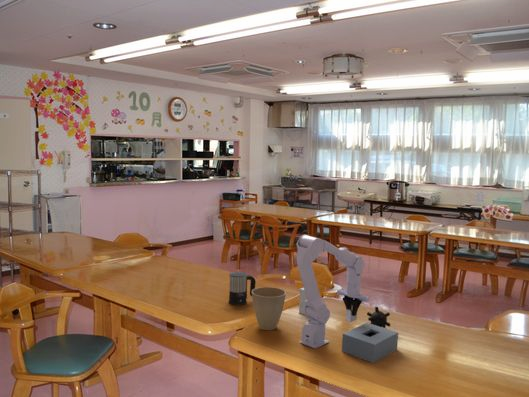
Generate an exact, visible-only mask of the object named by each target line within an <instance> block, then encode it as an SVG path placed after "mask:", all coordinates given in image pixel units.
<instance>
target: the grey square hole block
mask: <svg viewBox="0 0 529 397" xmlns="http://www.w3.org/2000/svg"><path fill="white" fill-rule="evenodd" d="M370 323H371V322H370ZM370 323H369V322H365V323H363V324H361V325H359V326H357V327H355V328H352V329H350V330H348V331H345V332H343V333H342V340H341V343H342V344H341V352H343V353H345V354H347V355H351V356H353V357H356V358H359V359H362V360H364V361H366V362H370V363H372V364H374V363H376V362H379V361H380V360H381V359H383V358H386V357H387V356H388V355H390V354H392V353H394V352H396V351H397V350H398V344H399V343H398V340H399V332H397V331H395V330H391V329H388V328H386V327H385V328H383V327H379V326H376V325H373V324H370Z"/></svg>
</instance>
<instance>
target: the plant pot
mask: <svg viewBox="0 0 529 397" xmlns="http://www.w3.org/2000/svg"><path fill="white" fill-rule="evenodd" d="M286 294H287V292H286V290H285V289H283V288H280V287H274V286H263V287H255V289H253V290H252V296H251V299H252V304H253V310H254V313H255V314H254V315H255V317H256V318H255V319H256V322H257V324H258V327H259V329H261V330H263V331H274V330H275V329H276V328H277V327H278V325H279V322H280V320H281V319H280V318H281V317H282V313H283V310H284V305H285V300H286Z"/></svg>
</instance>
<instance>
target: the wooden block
mask: <svg viewBox="0 0 529 397" xmlns="http://www.w3.org/2000/svg"><path fill="white" fill-rule="evenodd" d="M357 315H358V313H357V314H356V315H355V316H352V308H349V309H347V310H346V316H345V321H346V322H348V323H351V322H355V321H357V318H358V316H357Z"/></svg>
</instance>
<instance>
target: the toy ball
mask: <svg viewBox="0 0 529 397" xmlns="http://www.w3.org/2000/svg"><path fill="white" fill-rule="evenodd" d="M366 315H367V316H368V318H367V320H368V321H369V322H370V324H373V325H376V326H379V327H382V328H386V326H387V327H390V326H391V323H390V322H389V321H388V317H389V316H390V315H391V313H390V312H385V313H384V312H383V311H381V310H379V307H378V306H375V307H374V311H373V312H372V313H371V312H366Z"/></svg>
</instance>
